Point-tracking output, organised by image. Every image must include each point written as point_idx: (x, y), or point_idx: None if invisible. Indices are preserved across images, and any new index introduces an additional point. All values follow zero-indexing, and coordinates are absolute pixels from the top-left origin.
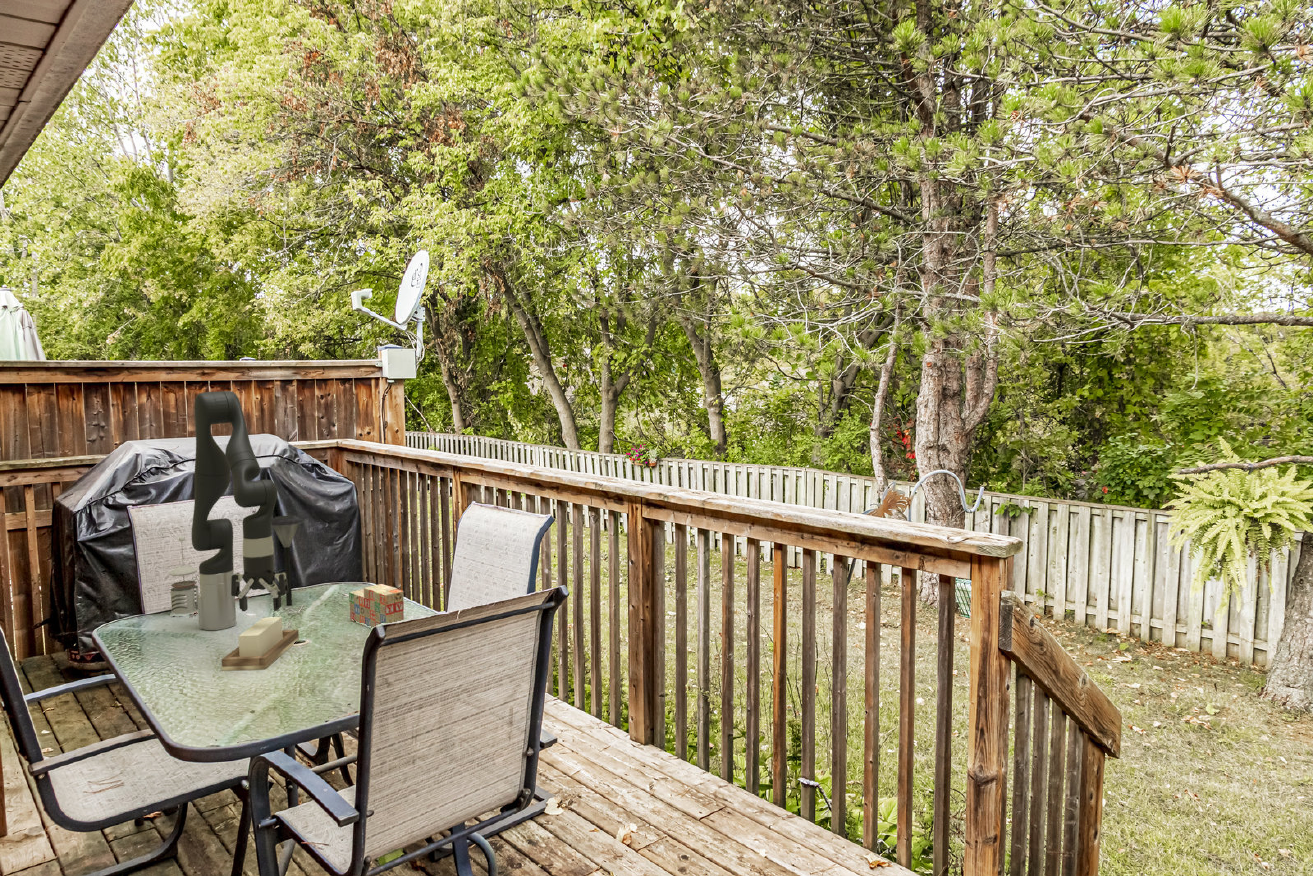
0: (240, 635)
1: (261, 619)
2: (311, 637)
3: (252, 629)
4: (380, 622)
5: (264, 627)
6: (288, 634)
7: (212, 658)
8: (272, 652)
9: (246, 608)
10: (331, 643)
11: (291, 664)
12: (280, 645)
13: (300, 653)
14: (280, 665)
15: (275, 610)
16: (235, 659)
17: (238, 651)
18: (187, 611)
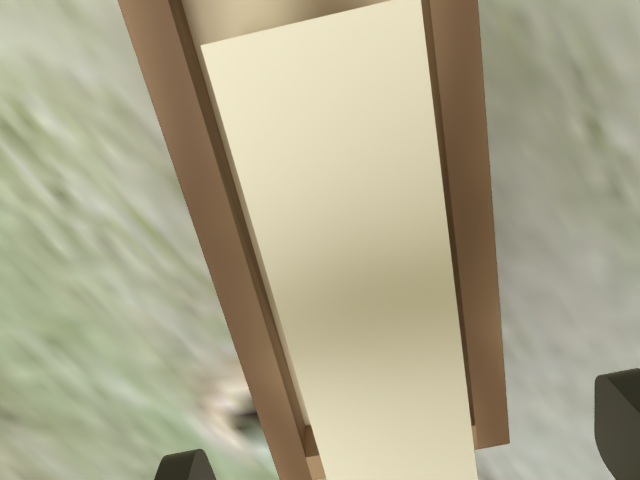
0: (407, 13)
1: (471, 459)
2: (242, 474)
3: (393, 222)
4: None
5: (311, 291)
6: (287, 418)
7: (630, 117)
8: (152, 99)
9: (609, 443)
10: (67, 420)
11: (22, 78)
12: (200, 242)
13: (121, 267)
14: (83, 49)
15: (174, 454)
16: None
17: (437, 83)
18: None
